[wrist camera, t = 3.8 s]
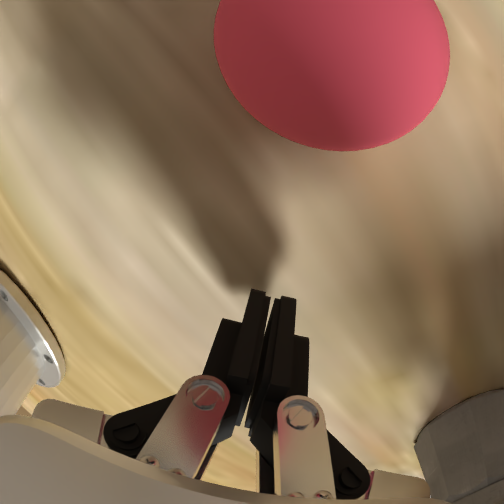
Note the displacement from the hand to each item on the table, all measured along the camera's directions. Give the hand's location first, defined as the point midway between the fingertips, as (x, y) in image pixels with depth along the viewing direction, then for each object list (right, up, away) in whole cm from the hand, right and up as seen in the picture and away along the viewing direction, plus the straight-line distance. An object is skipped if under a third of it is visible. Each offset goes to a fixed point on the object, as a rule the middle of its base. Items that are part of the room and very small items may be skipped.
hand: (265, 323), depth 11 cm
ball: (+1, +8, -6) cm, 9 cm away
